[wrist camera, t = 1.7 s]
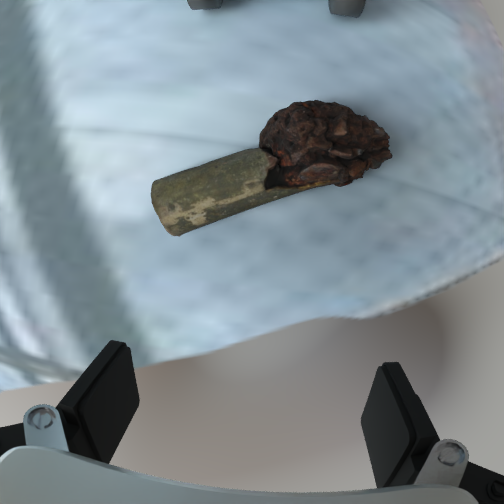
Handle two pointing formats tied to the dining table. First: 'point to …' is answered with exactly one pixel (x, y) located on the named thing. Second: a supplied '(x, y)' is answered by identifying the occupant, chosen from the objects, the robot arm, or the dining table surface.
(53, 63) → the dining table surface
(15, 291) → the dining table surface
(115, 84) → the dining table surface
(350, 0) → the trolley
